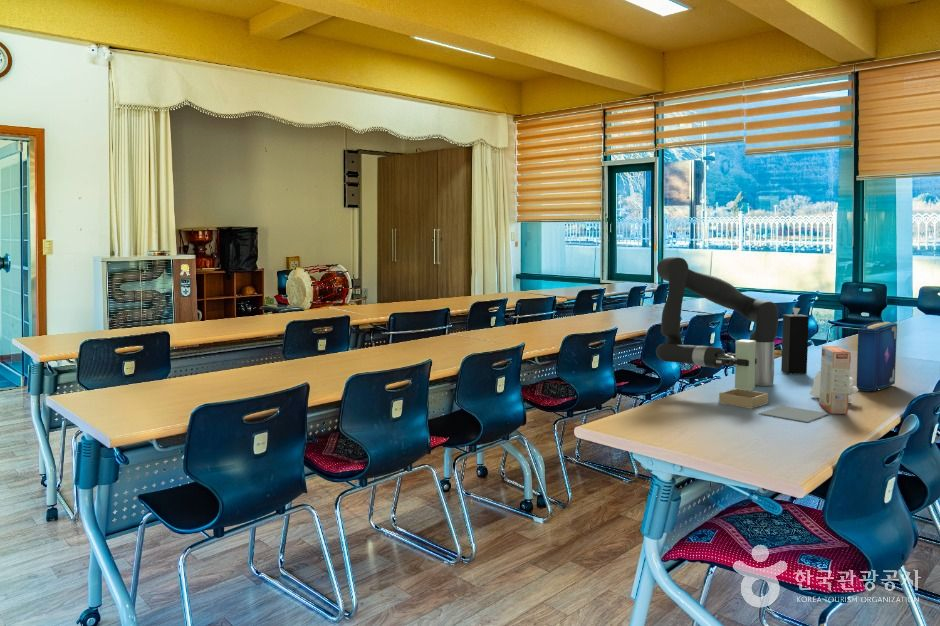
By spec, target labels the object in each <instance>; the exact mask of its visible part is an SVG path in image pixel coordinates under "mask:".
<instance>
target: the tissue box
mask: <svg viewBox="0 0 940 626" xmlns="http://www.w3.org/2000/svg"><path fill="white" fill-rule="evenodd" d="M800 310H801V308H798V307H792V312H793V314H792V313H791V314H782V338H781V339H782V341H781V366H780V367H781V372H782V371H783V372H782V373H784V372H785V373H784V374H787V375H807V374H808V348H809V345H808V344H809V322H810V316H809V315H805V314H801V313H800V314H798V313H799V312H800Z"/></svg>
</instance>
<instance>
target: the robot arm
mask: <svg viewBox="0 0 940 626" xmlns="http://www.w3.org/2000/svg"><path fill="white" fill-rule="evenodd" d="M656 266H657V267H656V271H657V274H658V276H659V277H660V278H661V279H662V280H663V281H665V282H668V291H667V297H666V301H665V304H664V305H663V309H662V313H661V319H660V320H661V321H660V322H661V323H660V332H661V334H662V336H664V337H665V342H662V343H661V344H659V345H658V346H657V347H656V348H655V349H656V350H655V354H656V357H657V358H658V359H659V360H660V361H662V362H667V363H682V364H689V365H693V366H695V365H696V366H700V367H707V368H711V369H721V367H722V366H724V367H725V366H727V367H734V366H738V365H740V366H749V360H745V359H738V358H735V354H736V352H735V353H732V352H727V353H726V352H725V351H724V349H723V348H722V347H717V346H716V347H715V346H708V345H692V344H683V340H682V335H681V320H682V319H681V318H682V309H683V308H682V306H683V300H684V295H685V294H684V293H685V290H686V289H687V290H689V291H690V292H692V293H694V294H696V295H698V296H699V297H702V298H704V299H706V300H708V301H709V302H711V303H714V304H715V305H719V306H722V307H724V308H726V309H728V310H733V311H735V312H736V313H738V314H740V315H741V316H743V317H745V318H746V319H748V320H749V321H751V322H753V323H755V329H754V330H753V332H751V333H749V340H754V341H756V344H755V385H754V386H758V387H770V386H773V385H774V383H775V382H774V379H775V377H774V376H775V338H776V336H777V333H778V326H779V325H778V324H779V309H778V306H777V305H776V303H775V302H773V301H769V300H763V299H759V298H758V299H757V298H754V297H750V296H749V295H746V294H744V293H742V292H740V290H738V289H737V288H736V287H735V286H734V285H733V284H731V283H730V282H727V281H725V280H724V279H721V278H719V277H717V276H714V275H710V274H707V273H703V272H700V271H695V270H693V269H690V268H689V265H688V261H686V259H684V257H681V256H671V257H666V258H663V259H661V260H659V262H658V264H657V265H656Z"/></svg>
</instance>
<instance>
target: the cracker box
mask: <svg viewBox="0 0 940 626" xmlns="http://www.w3.org/2000/svg"><path fill="white" fill-rule="evenodd" d="M851 355H852V352H850V351H848V350H847V349H844V348H842V347H840V346H838V345H822V346H821V359H820V360H821V361H820V371H821V379H820V398H818V401H819V402H818V403H819V406H820V405H821V406H820V407H821V408H823V409H824V410H825V411H826V410H827V413H829V414H830V413H832V414H833V415H848V413H849V403H848V398H849V397H850V396H849V379H850V377H851V376H850V375H851V373H850V372H851V361H852V360H851V359H852V357H851Z"/></svg>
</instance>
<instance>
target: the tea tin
mask: <svg viewBox="0 0 940 626" xmlns="http://www.w3.org/2000/svg"><path fill="white" fill-rule="evenodd" d="M734 341H735V342H734V344H735V353H736V354H735V358H738V359H745V360H749V366H740V365H738V366H735V365H734V366H735V367H734V374H735V375H734V389H736V388H737V389H743V390H749V391H751V390H752V389H753V390H754V389H755V386H756V385H755V344H756V341H754V340H750V339H745V338H744V339H739V340H734Z"/></svg>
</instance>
